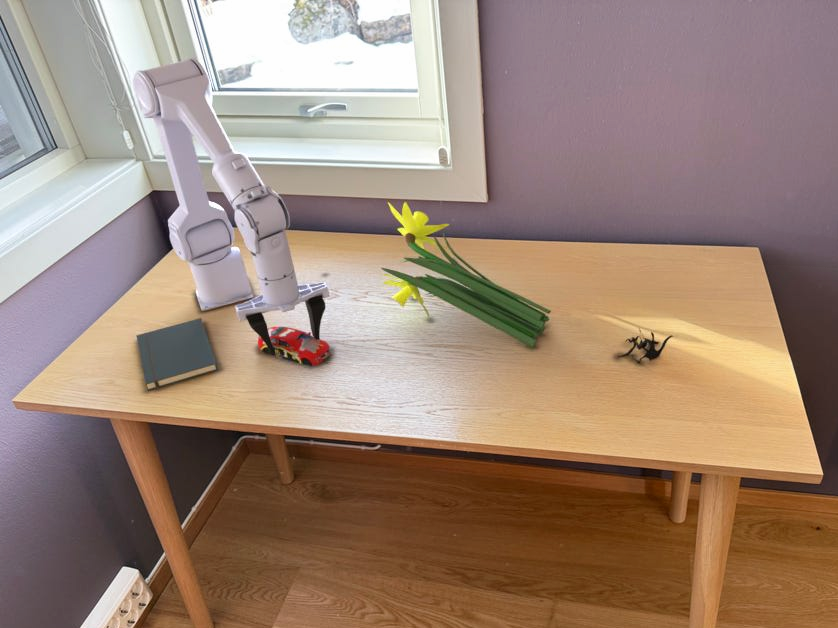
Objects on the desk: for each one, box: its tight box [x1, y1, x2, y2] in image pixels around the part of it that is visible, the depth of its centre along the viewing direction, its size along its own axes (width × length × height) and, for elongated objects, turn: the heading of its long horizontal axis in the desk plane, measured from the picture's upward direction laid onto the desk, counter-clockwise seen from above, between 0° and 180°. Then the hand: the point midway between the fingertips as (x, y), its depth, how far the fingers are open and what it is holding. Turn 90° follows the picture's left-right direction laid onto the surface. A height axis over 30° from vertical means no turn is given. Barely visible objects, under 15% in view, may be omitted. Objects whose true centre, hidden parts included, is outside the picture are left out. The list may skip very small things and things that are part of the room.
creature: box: [618, 328, 674, 364], centre depth 120 cm, size 8×5×8 cm
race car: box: [257, 326, 331, 367], centre depth 127 cm, size 13×5×4 cm, turn 62°
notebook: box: [136, 317, 219, 392], centre depth 128 cm, size 11×16×1 cm
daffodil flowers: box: [378, 201, 552, 348], centre depth 130 cm, size 17×15×35 cm
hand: (293, 343), depth 126 cm, fingers open, 7 cm apart
